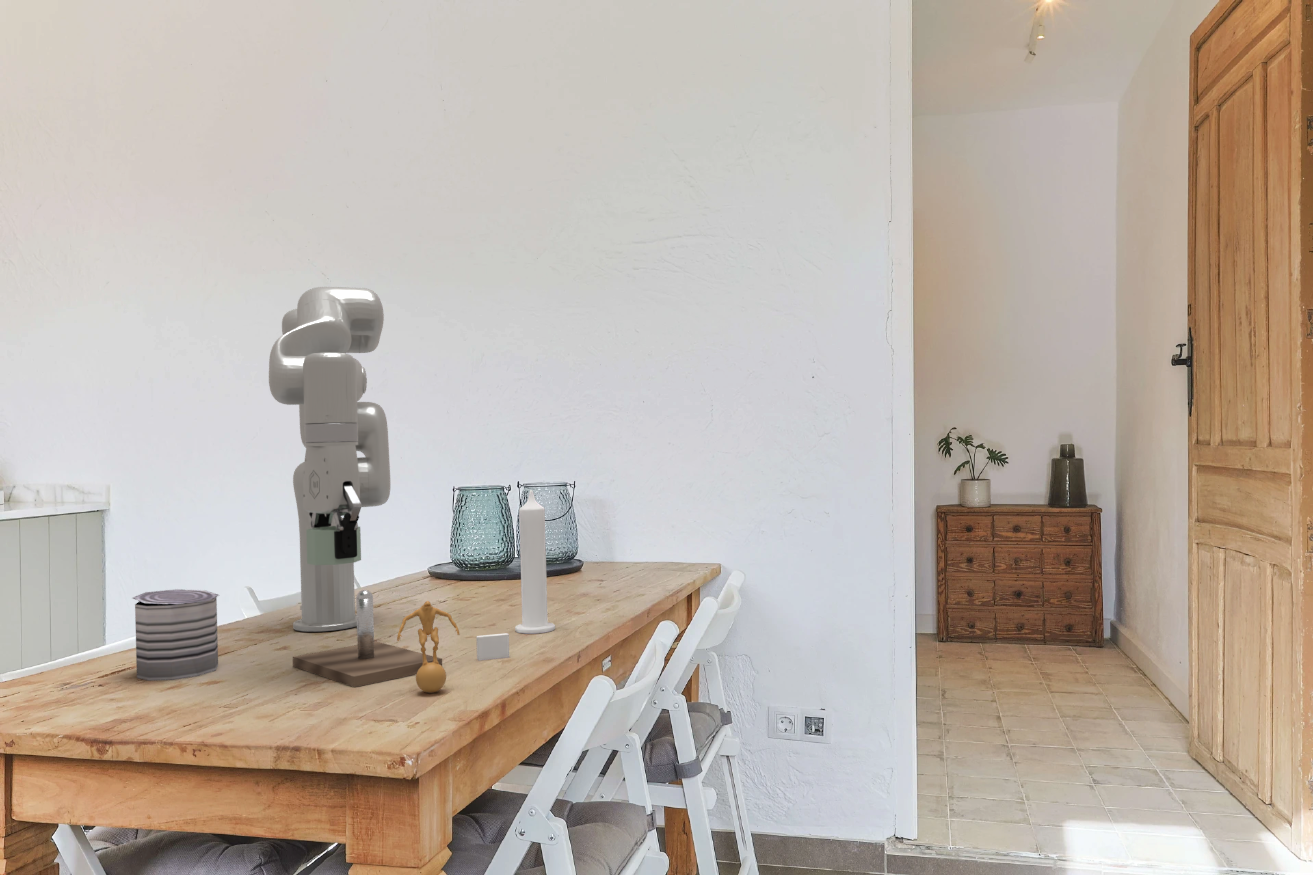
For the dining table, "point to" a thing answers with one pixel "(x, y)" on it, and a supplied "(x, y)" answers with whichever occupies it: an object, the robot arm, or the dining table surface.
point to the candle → (533, 569)
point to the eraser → (492, 646)
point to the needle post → (365, 625)
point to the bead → (327, 547)
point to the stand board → (362, 664)
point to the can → (176, 634)
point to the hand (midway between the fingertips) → (334, 555)
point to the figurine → (431, 673)
